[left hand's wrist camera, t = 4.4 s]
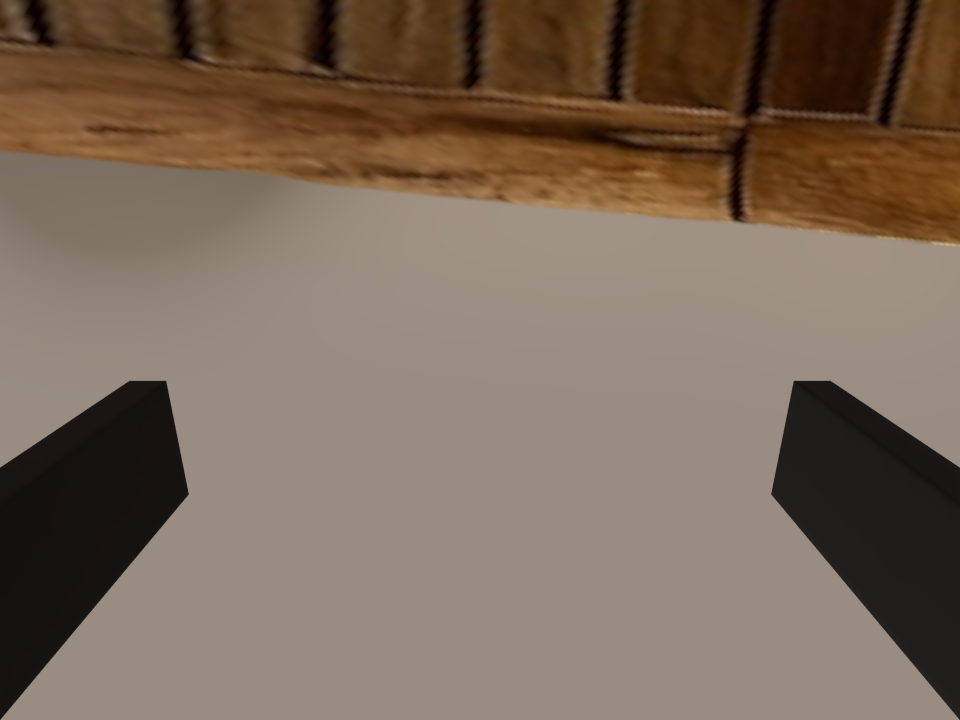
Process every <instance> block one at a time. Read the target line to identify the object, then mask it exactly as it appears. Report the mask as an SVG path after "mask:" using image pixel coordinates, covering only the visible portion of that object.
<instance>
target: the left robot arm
mask: <svg viewBox="0 0 960 720" xmlns="http://www.w3.org/2000/svg"><path fill="white" fill-rule="evenodd" d="M188 494H189V493H188V488H187V483H186V478H185V473H184V468H183V463H182V458H181V453H180V448H179V443H178V438H177V433H176V428H175V423H174V418H173V413H172V408H171V403H170V398H169V393H168V388H167V383H166V381H129V382H127V383H126V384H124V385H123V386H121V387H120V388H118V389H117V390H115V391H114V392H112V393H111V394H109V395H108V396H106V397H105V398H103V399H102V400H100V401H99V402H97V403H96V404H94V405H93V406H91V407H90V408H88V409H87V410H85V411H84V412H83V413H81V414H79V415H78V416H76V417H75V418H74V419H72V420H71V421H69V422H68V423H66V424H65V425H63V426H62V427H60V428H59V429H57V430H56V431H54V432H53V433H51V434H50V435H48V436H47V437H45V438H44V439H42V440H41V441H39V442H38V443H36V444H35V445H33V446H32V447H30V448H29V449H27V450H26V451H24V452H23V453H21V454H20V455H18V456H17V457H15V458H14V459H12V460H11V461H9V462H8V463H7V464H5V465H3V466H2V467H0V719H1V718H2V717H3V716H4V715H5V714H6V712H7V711H8V710H9V709H10V708H11V706H12V705H13V704H14V703H15V702H16V700H17V699H18V698H19V697H20V696H21V694H22V693H23V692H24V691H25V690H26V688H27V687H28V686H29V685H30V684H31V682H32V681H33V680H34V679H35V678H36V676H37V675H38V674H39V673H40V672H41V670H42V669H43V668H44V667H45V666H46V664H47V663H48V662H49V661H50V660H51V658H52V657H53V656H54V655H55V654H56V653H57V651H58V650H59V649H60V648H61V647H62V645H63V644H64V643H65V642H66V641H67V639H68V638H69V637H70V636H71V635H72V633H73V632H74V631H75V630H76V629H77V627H78V626H79V625H80V624H81V623H82V621H83V620H84V619H85V618H86V617H87V615H88V614H89V613H90V612H91V611H92V609H93V608H94V607H95V606H96V605H97V603H98V602H99V601H100V600H101V599H102V597H103V596H104V595H105V594H106V593H107V591H108V590H109V589H110V588H111V587H112V586H113V584H114V583H115V582H116V581H117V579H118V578H119V577H120V576H121V575H122V574H123V572H124V571H125V570H126V569H127V568H128V566H129V565H130V564H131V563H132V562H133V560H134V559H135V558H136V557H137V556H138V554H139V553H140V552H141V551H142V550H143V548H144V547H145V546H146V545H147V544H148V542H149V541H150V540H151V539H152V538H153V536H154V535H155V534H156V533H157V532H158V530H159V529H160V528H161V527H162V526H163V525H164V523H165V522H166V521H167V520H168V518H169V517H170V516H171V515H172V514H173V513H174V511H175V510H176V509H177V508H178V507H179V505H180V504H181V503H182V502H183V501H184V499H185V498H186V497H187V496H188ZM771 494H772V496H773V497H774V498H775V499H776V501H777V502H778V503H779V504H780V505H781V507H782V508H783V509H784V510H785V511H786V513H787V514H788V515H789V516H790V517H791V518H792V520H793V521H794V522H795V523H796V524H797V526H798V527H799V528H800V529H801V530H802V532H803V533H804V534H805V535H806V536H807V538H808V539H809V540H810V541H811V542H812V544H813V545H814V546H815V547H816V548H817V550H818V551H819V552H820V553H821V554H822V556H823V557H824V558H825V559H826V560H827V562H828V563H829V564H830V565H831V566H832V568H833V569H834V570H835V571H836V572H837V574H838V575H839V576H840V577H841V578H842V580H843V581H844V582H845V583H846V584H847V586H848V587H849V588H850V589H851V590H852V592H853V593H854V594H855V595H856V596H857V597H858V599H859V600H860V601H861V602H862V603H863V605H864V606H865V607H866V608H867V609H868V611H869V612H870V613H871V614H872V615H873V617H874V618H875V619H876V620H877V621H878V623H879V624H880V625H881V626H882V627H883V629H884V630H885V631H886V632H887V633H888V635H889V636H890V637H891V638H892V639H893V641H894V642H895V643H896V644H897V645H898V646H899V648H900V649H901V650H902V651H903V653H904V654H905V655H906V656H907V657H908V658H909V660H910V661H911V662H912V663H913V664H914V666H915V667H916V668H917V669H918V670H919V672H920V673H921V674H922V675H923V676H924V678H925V679H926V680H927V681H928V682H929V684H930V685H931V686H932V687H933V688H934V690H935V691H936V692H937V693H938V694H939V696H940V697H941V698H942V699H943V700H944V702H945V703H946V704H947V705H948V706H949V708H950V709H951V710H952V711H953V712H954V714H955V715H956V716H957V717H958V718H959V719H960V468H959V467H958V466H957V465H955V464H954V463H952V462H951V461H949V460H948V459H946V458H945V457H943V456H942V455H940V454H939V453H937V452H936V451H934V450H933V449H931V448H930V447H928V446H927V445H925V444H924V443H922V442H921V441H919V440H918V439H916V438H915V437H913V436H912V435H910V434H909V433H907V432H906V431H904V430H903V429H901V428H900V427H898V426H897V425H895V424H894V423H892V422H891V421H889V420H888V419H886V418H885V417H883V416H882V415H881V414H879V413H878V412H876V411H874V410H873V409H872V408H870V407H869V406H867V405H866V404H864V403H863V402H861V401H860V400H858V399H857V398H855V397H854V396H852V395H851V394H849V393H848V392H846V391H845V390H843V389H842V388H840V387H839V386H837V385H836V384H834V383H833V382H831V381H794V383H793V388H792V393H791V398H790V403H789V408H788V413H787V418H786V423H785V428H784V433H783V438H782V443H781V448H780V453H779V458H778V463H777V468H776V473H775V478H774V483H773V488H772V493H771Z"/></svg>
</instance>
